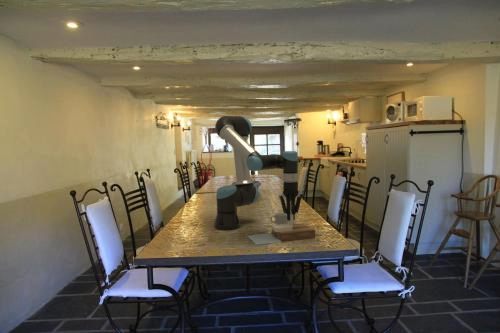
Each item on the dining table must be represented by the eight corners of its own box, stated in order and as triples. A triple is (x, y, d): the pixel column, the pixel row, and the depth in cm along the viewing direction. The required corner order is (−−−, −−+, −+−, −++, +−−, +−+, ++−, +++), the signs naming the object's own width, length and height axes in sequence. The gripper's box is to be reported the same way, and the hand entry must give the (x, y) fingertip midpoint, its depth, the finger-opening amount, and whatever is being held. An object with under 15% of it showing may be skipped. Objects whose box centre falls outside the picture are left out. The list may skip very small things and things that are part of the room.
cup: (269, 228, 183) (269, 214, 182) (271, 224, 191) (270, 211, 190) (289, 229, 181) (289, 215, 180) (289, 225, 189) (289, 211, 188)
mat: (247, 236, 169) (247, 235, 169) (270, 233, 173) (270, 233, 173) (256, 245, 155) (256, 244, 155) (281, 242, 159) (281, 241, 159)
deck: (272, 233, 173) (271, 226, 172) (302, 230, 178) (302, 223, 178) (282, 241, 159) (282, 233, 159) (315, 237, 165) (315, 230, 164)
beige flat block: (271, 229, 168) (271, 225, 168) (287, 227, 170) (287, 223, 170) (276, 232, 162) (276, 228, 162) (292, 230, 165) (292, 226, 165)
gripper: (281, 182, 160) (282, 229, 163) (305, 181, 164) (305, 226, 167) (276, 181, 168) (276, 225, 170) (298, 179, 171) (299, 223, 174)
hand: (290, 226), depth 168 cm, fingers closed
